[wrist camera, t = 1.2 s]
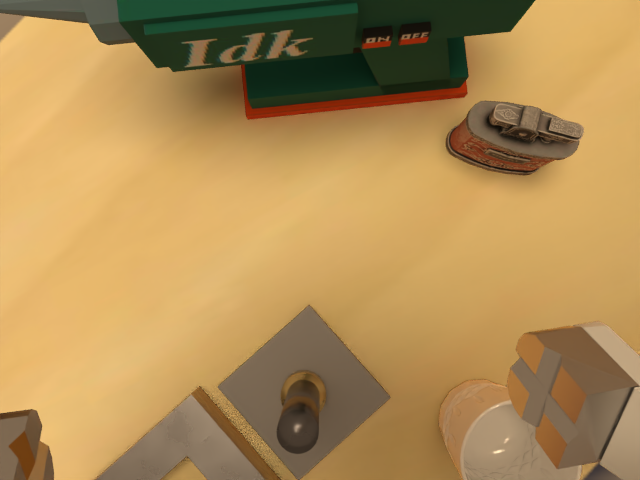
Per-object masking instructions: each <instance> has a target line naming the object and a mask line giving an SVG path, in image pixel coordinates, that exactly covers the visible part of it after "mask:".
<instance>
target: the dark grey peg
mask: <svg viewBox="0 0 640 480" xmlns="http://www.w3.org/2000/svg"><path fill="white" fill-rule="evenodd" d="M325 402H326V388H325V384H324V382H323V380H322V379H321V378H320V376H318V375H317V374H316V373H314V372H312V371H309V370H299V371H296V372H294V373H292V374H291V375H289V376H288V377H287V379H286V380H285V382H284V384H283V387H282V390H281V403H282V406H283V409H282V412H281V416H280V419H279V422H278V426H277V432H276V433H277V439H278V442H279V443H280V445H281V446H282V447H283V448H284V449H285V450H286V451H288V452H290V453H293V454H302V453H305V452H307V451H309V450H311V449H312V448H313V447H314V445H315V444H316V442H317V440H318V436H319V413H320V412H321V410H322V409H323V407H324V405H325Z"/></svg>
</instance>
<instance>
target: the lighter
mask: <svg viewBox="0 0 640 480" xmlns="http://www.w3.org/2000/svg"><path fill="white" fill-rule="evenodd" d="M583 132H584V128H583V126H582V125H580V124H578V123H574V122H570V121H566V120H563V119H561V118H559V117H557V116H554V115H552V114H550V113H547V112H544V111H542V110H541V109H539V108H536V107H533V106H524V105H519V104H514V103H508V102H496V101H480V102H479V103H477V104H475V105H474V106H473V107H472V109H471V110H470V111H469V112H468V114H467V117H466V118H465V119H464V120H463V121H462V123H461V124H460V125H457V126H455V127H454V128H453V129H452V130H451V131H450V132H449V133H448V135H447V138H446V149H447V150H448V152H449V153H450V154H451V155H452V156H454V157H456V158H458V159H460V160H462V161H464V162H466V163H468V164H471V165H474V166H477V167H480V168H482V169H485V170H489V171H494V172H499V173H504V174H515V175H529V174H532V173H534V172H535V171H537V170H538V169H539V168H540V167H541V166H543V165H546V164H548V163H550V162H552V161H554V160H562V159H565V158H567V157H569V156H571V155H572V154H573V153H574V152H575V151H576V150H577V148H578V145H579V140H580V139H581V138H582V136H583Z"/></svg>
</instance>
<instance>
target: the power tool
mask: <svg viewBox="0 0 640 480" xmlns="http://www.w3.org/2000/svg"><path fill="white" fill-rule="evenodd" d="M534 1H535V0H0V13H5V14H13V15H22V16H30V17H39V18H47V19H56V20H64V21H73V22H81V23H89V25H90V27H91V29H92V30H93V32H94V33H95V35H96V36H97V38H98V40H99V41H100V42H102V43H104V44H107V45H113V44H123V43H133V42H136V44H137V45H138V46H139V47H140V48H141V50H142V51H143V52H144V53H145V54H146V56H147V57H148V58H149V59H150V60H151V62H152V63H153V64H154V65H155V66H156V68H162V67H170V69H171V70H172V71H173V72H176V71H186V70H196V69H205V68H215V67H225V66H234V65H241V68H242V78H243V89H244V99H245V109H246V117H247V119H257V118H267V117H276V116H286V115H296V114H306V113H315V112H325V111H335V110H344V109H354V108H364V107H374V106H383V105H393V104H403V103H412V102H422V101H432V100H442V99H451V98H461V97H465V96H466V94H467V85H466V79H467V78H468V77H469V76H468V68H467V59H466V51H465V42H464V36H472V35H482V34H492V33H501V32H511V30H512V29H513V28H514V26H515V25H516V24H517V23H518V21H519V20H520V19H521V18H522V16H523V15H524V14H525V13H526V11H527V10H528V9H529V8H530V6H531V5H532V4H533V3H534Z"/></svg>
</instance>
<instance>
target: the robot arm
mask: <svg viewBox="0 0 640 480" xmlns="http://www.w3.org/2000/svg"><path fill="white" fill-rule="evenodd" d="M516 351H517V353H518V354H519V356H520V359H519V360H518V361H517V362H516V363H515V364H514V365H513V366H512V367H511V368H510V372H509V376H508V380H507V385H508V392H509V397H510V400H511V402H512V405H513V407H514V409H515V410H516V412H517V413H518V415H519V416H520V418H521V419H523V420H524V421H526V422H528V423H529V424H531V425H533V426H535V427H536V433H535V439H536V440H537V442H538V443H539V445H540V446H541V448H542V449H543V450H544V452H545V453H546V455H547V456H548V457H549V459H550V460H551V462H552V463H553V464H554V466H555V467H556V469H562V468H568V467H573V466H578V465H584V464H589V463H594V462H600V461H601V462H600V465H602V466H603V467H605V468H606V469H607V470H609V471H610V472H612V473H613V474H615V475H616V476H617V477H619V478H620V479H622V480H640V356H639V355H638V354H637V353H636V352H635V351H634V350H633V349H632V348H631V347H630V346H629V345H628V344H627V343H626V342H624V341H623V340H622V339H621V338H620V337H619V336H618V335H617V334H616V333H615V332H614V331H613V330H612V329H611V328H610V327H609V326H608V325H606V324H604V323H602V322H599V321H595V322H589V323H583V324H577V325H573V326H565V327H559V328H553V329H547V330H541V331H535V332H529V333H524V334H523V335H522V337H521V338H520V339H519V341H518V344H517V347H516ZM41 430H42V424H41V421H40V418H39V416H38V413H37V411H36V410H33V409H30V410H23V411H15V412H7V413H0V480H54V469H53V462H52V456H51V453H50V449H49V446H48V445H46V444H44V443H42V442H41V441H40V435H41Z"/></svg>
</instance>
